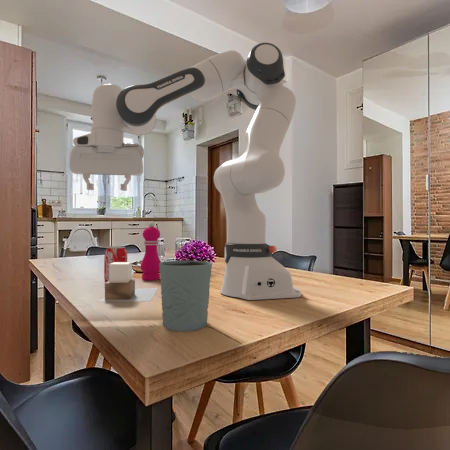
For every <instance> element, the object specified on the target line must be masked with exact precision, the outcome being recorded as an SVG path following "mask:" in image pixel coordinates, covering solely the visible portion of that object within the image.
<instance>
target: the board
mask: <svg viewBox="0 0 450 450" xmlns="http://www.w3.org/2000/svg"><path fill="white" fill-rule="evenodd" d="M158 289H159V288H158V287H151V288H149V287H146V288H145V287H140V288H139V287H138V288H136V287H135V295H134V296H133V297H132V298H131V299H127V300H105V296H103V297H102V298H101V299H100V300H98V301H97V302H98V303H106V302H107V303H114V302H116V303H120V302H121V303H122V302H124V303H125V302H129V303H130V302H137V303H138V302H151V301H152V298H154V295H155V294H156V292H157V290H158Z"/></svg>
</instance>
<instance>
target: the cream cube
mask: <svg viewBox="0 0 450 450" xmlns="http://www.w3.org/2000/svg"><path fill="white" fill-rule="evenodd" d="M132 265H133V262H132V261H127V262H113V263H111V264H109V283H128V282H129V281H130V280H132V279H133V277H132V276H133V273H132V270H133V267H132Z"/></svg>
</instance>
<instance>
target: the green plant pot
mask: <svg viewBox="0 0 450 450" xmlns="http://www.w3.org/2000/svg"><path fill="white" fill-rule="evenodd" d="M159 266H160V271H159V274H160V279H159V280H160V289H161V291H160V295H161V311H162V316H161V317H162V325H163V327H164V329H166V330H169V331H174V332H194V331H198V330H201V329H204V328H205V327H206V326H207V323H208V317H209V315H208V314H209V312H208V309H209V303H210V302H209V301H210V289H211V288H210V287H211V286H210V284H211V276H212V268H213V267H212V266H213V263H212V262H210V261H205V260H204V261H202V260H167V261H161V263H160V264H159Z"/></svg>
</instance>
